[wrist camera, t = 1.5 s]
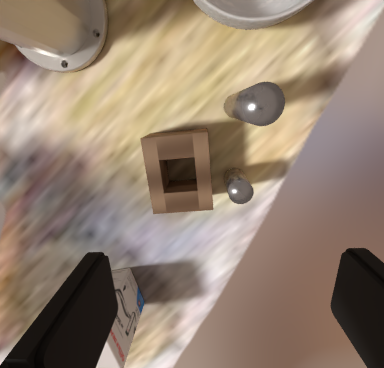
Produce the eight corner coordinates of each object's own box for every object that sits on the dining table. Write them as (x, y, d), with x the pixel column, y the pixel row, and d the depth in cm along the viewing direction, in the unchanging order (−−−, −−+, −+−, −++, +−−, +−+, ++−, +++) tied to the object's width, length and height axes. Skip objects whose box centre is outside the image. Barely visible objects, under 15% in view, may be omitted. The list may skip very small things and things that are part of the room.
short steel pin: (223, 168, 32) (228, 182, 26) (244, 167, 32) (253, 180, 26) (224, 188, 33) (229, 204, 27) (244, 186, 33) (253, 203, 27)
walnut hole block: (149, 133, 31) (140, 138, 26) (206, 128, 30) (207, 132, 25) (160, 199, 34) (153, 213, 29) (211, 195, 33) (213, 209, 28)
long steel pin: (223, 95, 29) (242, 84, 15) (246, 92, 28) (285, 79, 15) (224, 119, 29) (243, 127, 16) (246, 116, 29) (284, 124, 16)
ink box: (145, 302, 41) (124, 374, 30) (121, 306, 42) (91, 378, 31) (130, 266, 38) (101, 330, 27) (104, 271, 39) (65, 336, 28)
